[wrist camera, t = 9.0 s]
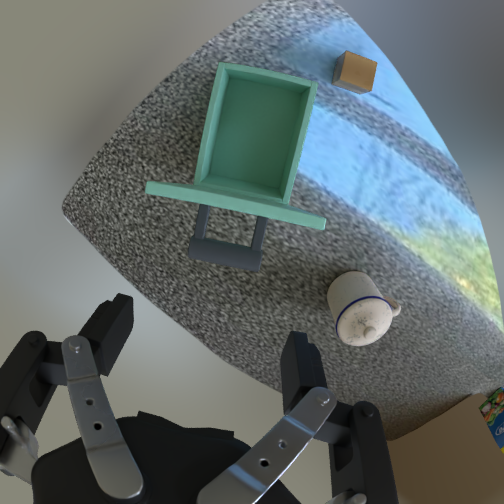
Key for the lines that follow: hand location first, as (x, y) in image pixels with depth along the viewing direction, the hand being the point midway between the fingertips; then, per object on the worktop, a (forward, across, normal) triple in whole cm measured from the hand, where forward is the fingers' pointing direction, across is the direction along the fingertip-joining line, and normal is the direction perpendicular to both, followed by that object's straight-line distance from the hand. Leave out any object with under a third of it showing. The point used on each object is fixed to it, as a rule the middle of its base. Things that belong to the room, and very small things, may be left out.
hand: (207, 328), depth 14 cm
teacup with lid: (+30, -23, +12) cm, 40 cm away
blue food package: (+30, -106, +48) cm, 121 cm away
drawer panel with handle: (+14, 0, -3) cm, 15 cm away
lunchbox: (+30, 0, -9) cm, 31 cm away
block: (+30, -11, -21) cm, 38 cm away
